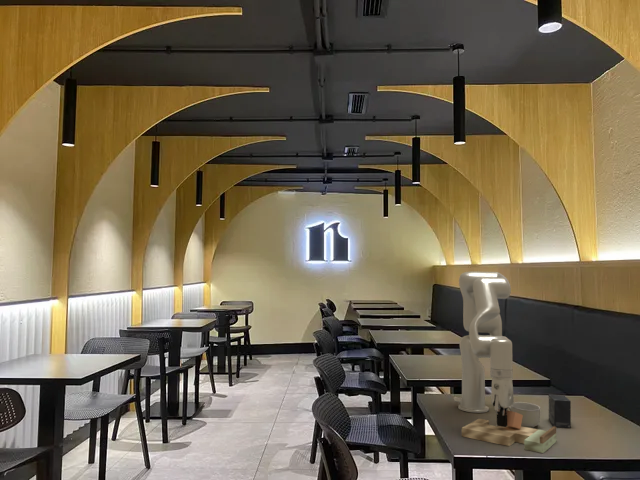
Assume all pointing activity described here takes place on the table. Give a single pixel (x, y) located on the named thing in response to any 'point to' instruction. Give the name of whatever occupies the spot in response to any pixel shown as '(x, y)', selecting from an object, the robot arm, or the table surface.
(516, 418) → the block
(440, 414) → the table surface
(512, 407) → the teacup
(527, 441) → the board
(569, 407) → the small box
